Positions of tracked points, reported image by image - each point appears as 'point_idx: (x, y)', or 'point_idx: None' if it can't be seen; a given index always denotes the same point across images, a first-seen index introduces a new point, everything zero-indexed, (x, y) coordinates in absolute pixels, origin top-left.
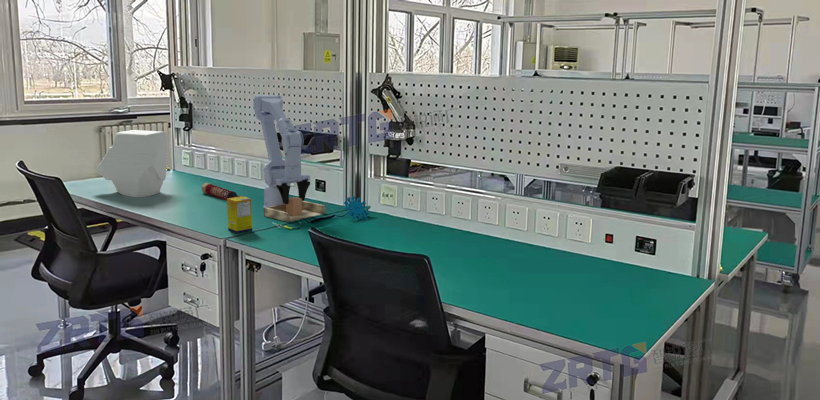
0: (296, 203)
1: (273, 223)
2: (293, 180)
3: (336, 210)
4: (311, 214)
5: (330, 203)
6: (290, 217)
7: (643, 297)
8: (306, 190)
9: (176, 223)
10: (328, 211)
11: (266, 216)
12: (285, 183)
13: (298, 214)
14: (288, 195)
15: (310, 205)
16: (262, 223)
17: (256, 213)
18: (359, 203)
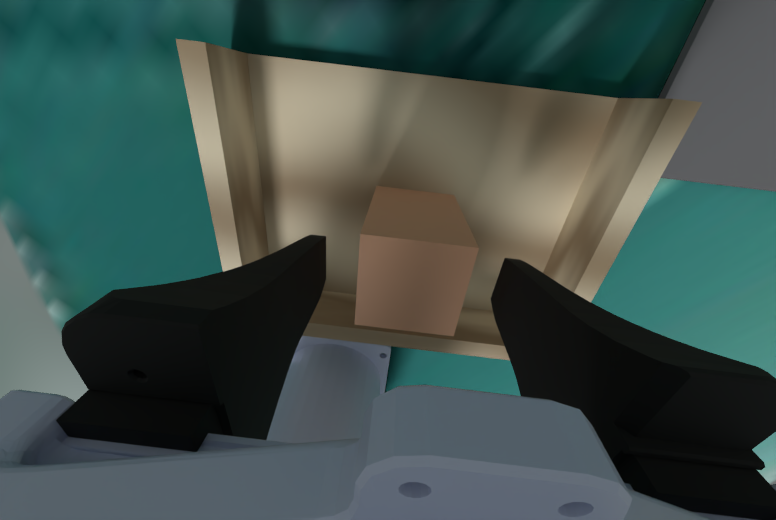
0: (429, 225)
1: (665, 185)
2: (640, 504)
3: (72, 85)
4: (332, 122)
5: (33, 260)
6: (498, 184)
7: None
8: (247, 267)
9: (764, 477)
10: (147, 115)
11: None
12: (688, 492)
13: (407, 190)
14: (555, 296)
15: (244, 220)
16: (684, 240)
17: (476, 386)
18: None
